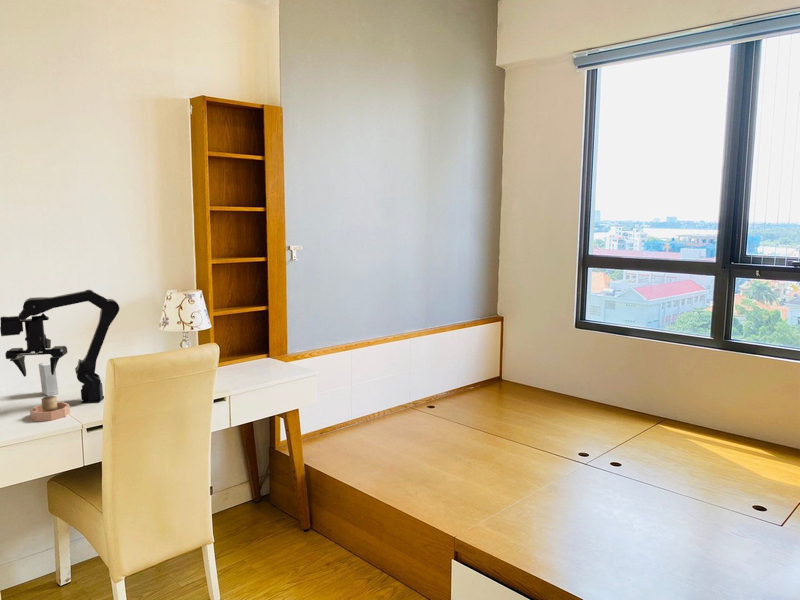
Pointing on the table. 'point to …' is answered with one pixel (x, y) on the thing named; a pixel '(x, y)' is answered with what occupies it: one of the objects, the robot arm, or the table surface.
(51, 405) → the oak tube
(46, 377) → the skincare box
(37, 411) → the pink octagonal ring
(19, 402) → the table surface
